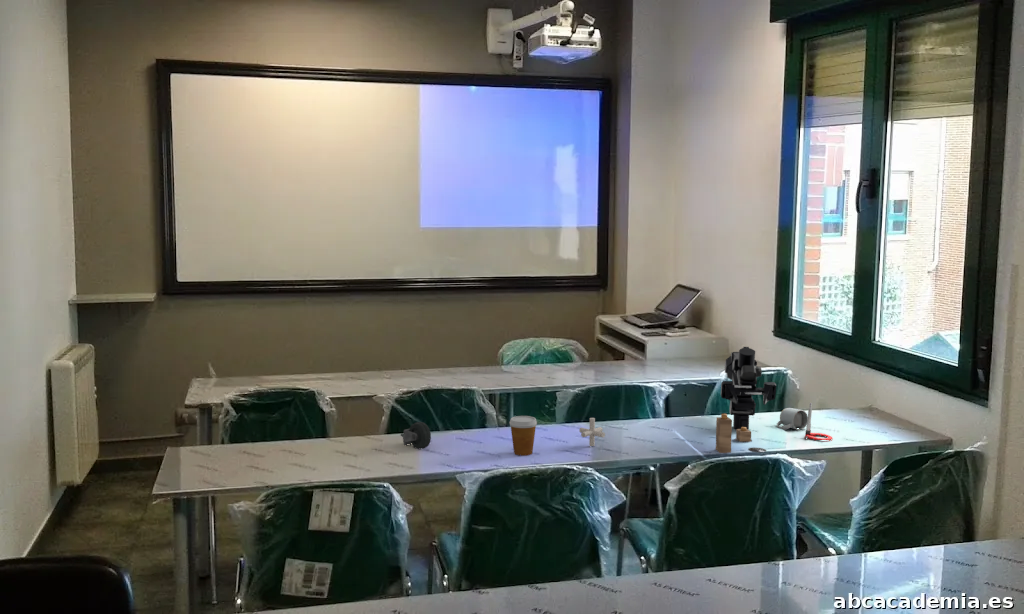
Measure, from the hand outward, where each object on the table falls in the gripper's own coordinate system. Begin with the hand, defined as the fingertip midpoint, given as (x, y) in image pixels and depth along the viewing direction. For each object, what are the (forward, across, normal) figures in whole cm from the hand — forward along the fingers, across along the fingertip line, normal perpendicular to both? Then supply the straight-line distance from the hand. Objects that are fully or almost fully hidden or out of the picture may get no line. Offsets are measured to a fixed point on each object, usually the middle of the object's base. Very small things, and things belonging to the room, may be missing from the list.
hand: (750, 403), depth 305 cm
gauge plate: (+3, 0, +16) cm, 16 cm away
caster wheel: (+17, -116, +11) cm, 118 cm away
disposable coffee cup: (+21, -77, +10) cm, 81 cm away
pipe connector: (+10, -54, +14) cm, 57 cm away
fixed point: (-3, -1, +17) cm, 18 cm away
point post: (+12, -10, +13) cm, 20 cm away
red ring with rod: (-11, +27, +21) cm, 36 cm away
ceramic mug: (-24, +19, +26) cm, 40 cm away
